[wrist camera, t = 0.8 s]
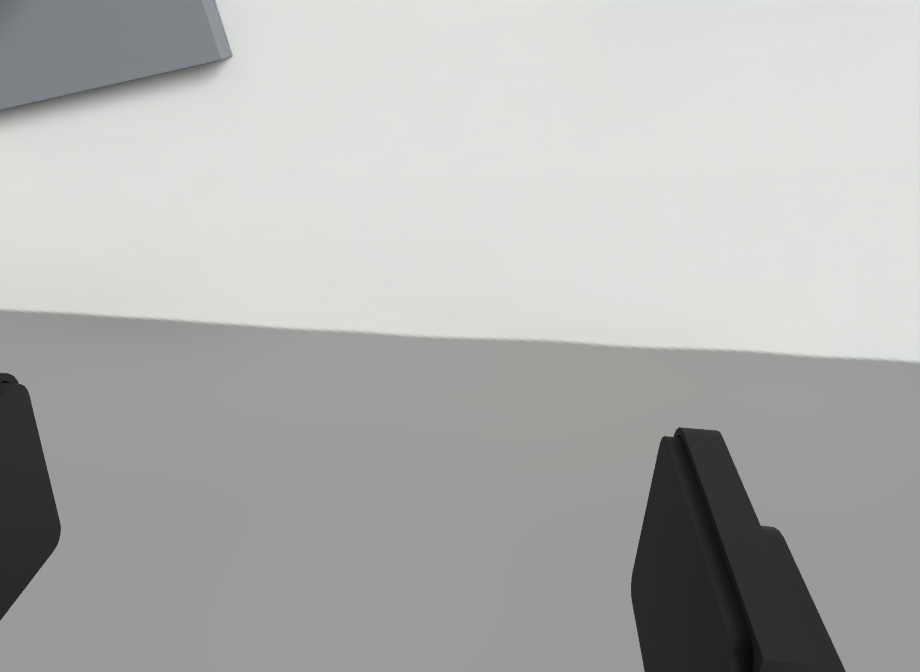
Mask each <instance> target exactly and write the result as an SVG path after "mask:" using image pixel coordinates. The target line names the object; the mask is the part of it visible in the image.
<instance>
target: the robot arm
mask: <svg viewBox="0 0 920 672" xmlns="http://www.w3.org/2000/svg"><path fill="white" fill-rule="evenodd" d="M60 531H61V526H60V521H59V517H58V512H57V508H56V504H55V500H54V496H53V492H52V487H51V483H50V479H49V475H48V471H47V467H46V462H45V459H44V454H43V450H42V446H41V442H40V438H39V434H38V429H37V425H36V421H35V417H34V413H33V408H32V404H31V400H30V396H29V393H28V390H27V389H26V388H25V386H23V385H21V384H19V383H18V381H17V380H16V378H15V377H14V376H13V375H10V374H8V373H0V620H1V619H2V618H3V616H4V615H5V614H6V612H7V611H8V610H9V608H10V607H11V605H12V604H13V603H14V602H15V601H16V599H17V598H18V597H19V595H20V594H21V593H22V591H23V590H24V589H25V588H26V586H27V585H28V584H29V582H30V581H31V580H32V578H33V577H34V576H35V574H36V573H37V572H38V571H39V569H40V568H41V567H42V565H43V564H44V563H45V562H46V560H47V559H48V558H49V556H50V555H51V554H52V552H53V551H54V549H55V548H56V546H57V544H58V541H59V537H60ZM631 597H632V604H633V609H634V615H635V620H636V626H637V631H638V637H639V642H640V648H641V653H642V659H643V665H644V670H645V672H845V669H844V667H843V665H842V663H841V661H840V659H839V656H838V654H837V652H836V650H835V648H834V645H833V643H832V641H831V639H830V637H829V635H828V632H827V631H826V628H825V626H824V624H823V622H822V619H821V617H820V615H819V613H818V611H817V609H816V606H815V604H814V602H813V600H812V598H811V596H810V593H809V591H808V589H807V587H806V585H805V582H804V580H803V578H802V576H801V574H800V572H799V570H798V567H797V565H796V563H795V561H794V559H793V556H792V554H791V552H790V550H789V548H788V546H787V543H786V541H785V539H784V537H783V536H782V534H781V533H780V532H779V530H777V529H776V528H774V527H767V526H761V525H760V523H759V521H758V519H757V516H756V514H755V512H754V509H753V507H752V505H751V502H750V500H749V498H748V495H747V493H746V491H745V488H744V486H743V484H742V481H741V479H740V477H739V475H738V472H737V470H736V467H735V465H734V463H733V460H732V458H731V456H730V454H729V451H728V449H727V446H726V444H725V442H724V440H723V437H722V435H721V433H720V432H719V431H717V430H704V429H692V428H678V429H677V430H676V432H675V434H674V437H666V436H664V437H663V438H662V440H661V442H660V446H659V450H658V455H657V460H656V465H655V469H654V474H653V479H652V483H651V488H650V493H649V498H648V503H647V507H646V512H645V516H644V521H643V526H642V530H641V536H640V540H639V545H638V549H637V554H636V559H635V564H634V568H633V574H632V582H631Z"/></svg>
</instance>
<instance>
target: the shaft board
mask: <svg viewBox="0 0 920 672" xmlns="http://www.w3.org/2000/svg"><path fill="white" fill-rule="evenodd" d="M231 56H232V53H231V50H230V47H229V44H228V40H227V37H226V34H225V31H224V28H223V25H222V22H221V19H220V15H219V12H218V9H217V6H216V3H215V0H0V110H1V109H6V108H10V107H14V106H19V105H23V104H28V103H32V102H36V101H41V100H45V99H50V98H54V97H59V96H63V95H67V94H72V93H76V92H81V91H85V90H89V89H94V88H98V87H103V86H107V85H112V84H116V83H120V82H125V81H129V80H134V79H138V78H142V77H147V76H151V75H156V74H160V73H164V72H169V71H173V70H178V69H182V68H187V67H191V66H195V65H200V64H204V63H209V62H213V61H217V60H222V59H225V58H228V57H231Z"/></svg>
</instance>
